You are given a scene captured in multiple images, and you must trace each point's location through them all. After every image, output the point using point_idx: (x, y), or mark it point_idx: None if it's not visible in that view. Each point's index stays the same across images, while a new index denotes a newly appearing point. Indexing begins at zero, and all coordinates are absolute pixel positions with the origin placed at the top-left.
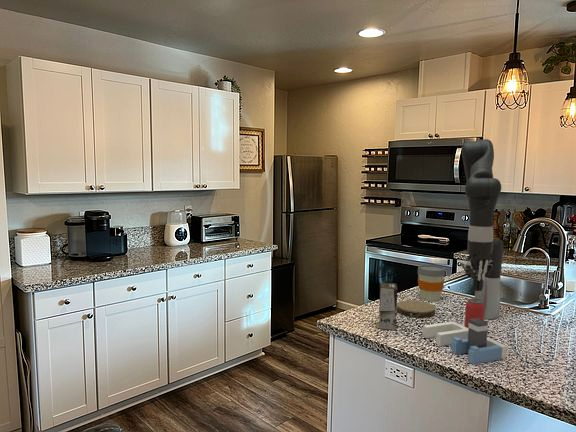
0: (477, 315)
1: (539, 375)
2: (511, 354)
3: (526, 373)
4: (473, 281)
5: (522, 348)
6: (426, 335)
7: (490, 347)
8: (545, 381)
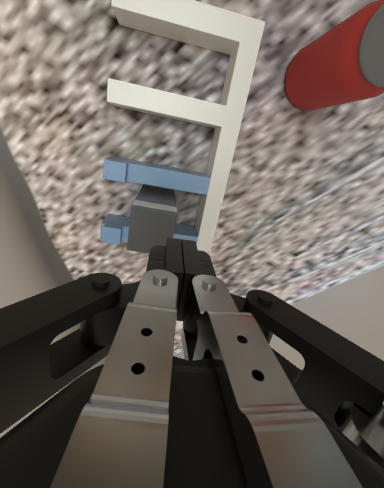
0: (325, 93)
1: None
2: (234, 235)
3: None
4: (147, 269)
5: (287, 227)
6: (119, 21)
7: None
8: None
